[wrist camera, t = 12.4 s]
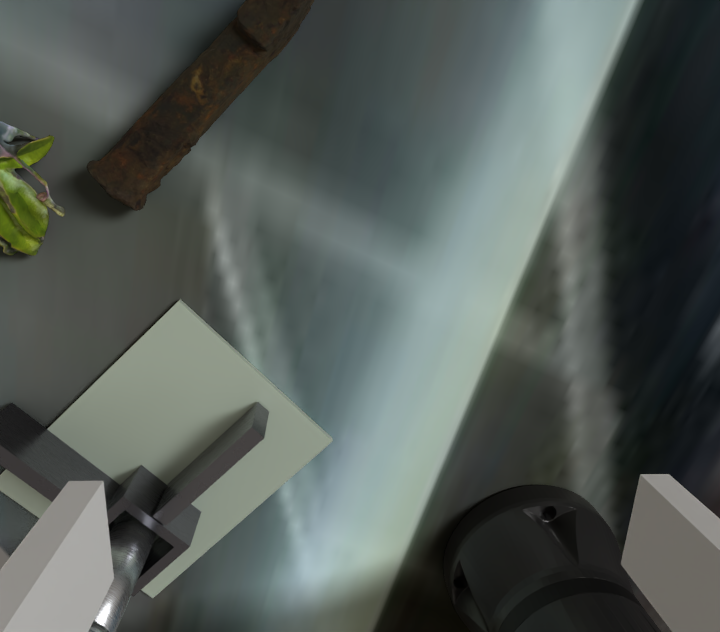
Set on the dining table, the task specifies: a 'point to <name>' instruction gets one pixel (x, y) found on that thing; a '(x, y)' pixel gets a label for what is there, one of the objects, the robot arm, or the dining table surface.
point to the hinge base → (62, 464)
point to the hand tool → (197, 99)
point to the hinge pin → (123, 569)
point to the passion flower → (22, 194)
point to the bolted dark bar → (212, 463)
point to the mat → (183, 426)
